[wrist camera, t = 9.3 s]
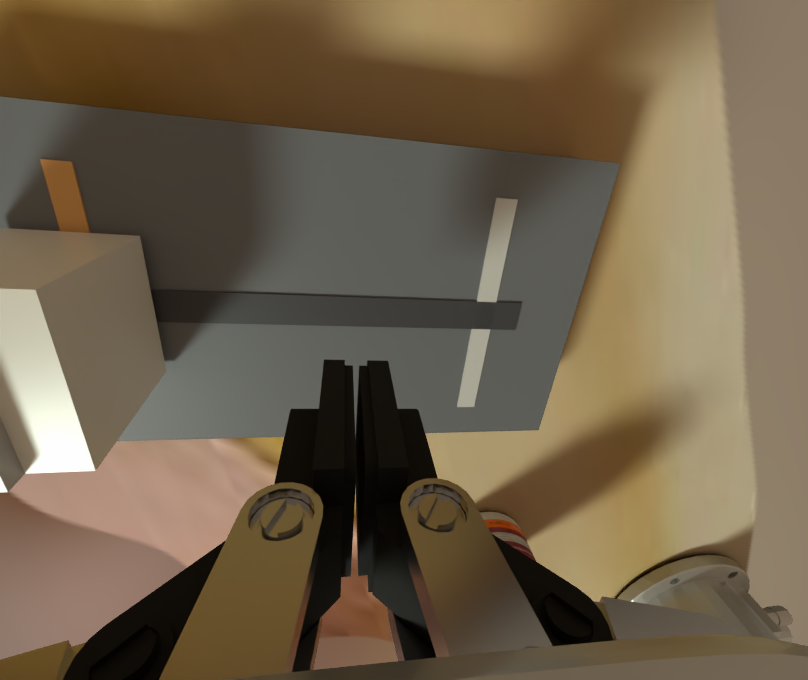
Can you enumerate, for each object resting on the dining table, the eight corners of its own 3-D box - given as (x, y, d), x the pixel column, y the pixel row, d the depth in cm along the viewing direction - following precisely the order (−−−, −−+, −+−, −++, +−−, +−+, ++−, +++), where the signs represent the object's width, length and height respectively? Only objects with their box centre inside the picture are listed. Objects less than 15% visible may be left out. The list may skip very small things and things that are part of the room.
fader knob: (139, 235, 13) (14, 300, 8) (166, 371, 15) (82, 488, 10) (-8, 227, 12) (-251, 292, 7) (43, 371, 14) (-113, 497, 9)
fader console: (576, 158, 17) (621, 163, 14) (514, 394, 22) (539, 431, 19) (-41, 92, 13) (-140, 81, 10) (64, 398, 18) (17, 444, 16)
